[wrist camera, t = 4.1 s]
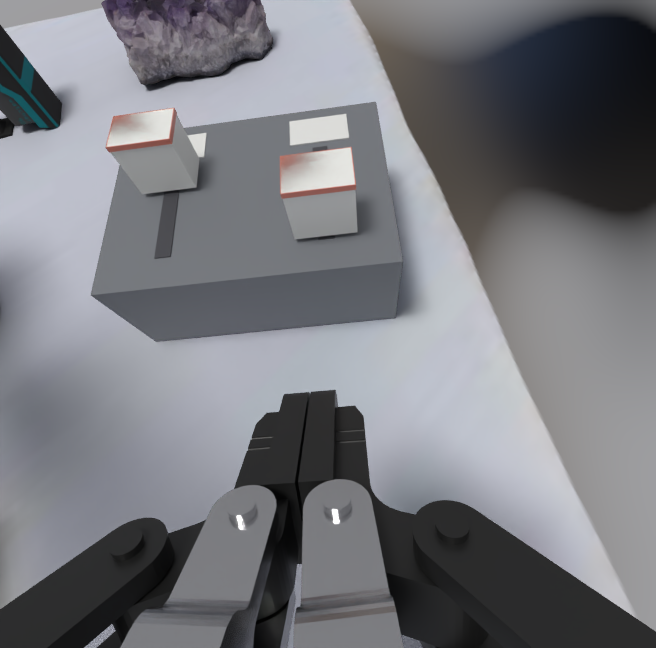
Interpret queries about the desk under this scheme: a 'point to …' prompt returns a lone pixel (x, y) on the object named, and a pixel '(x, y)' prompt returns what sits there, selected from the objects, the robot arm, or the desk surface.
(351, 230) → the switch
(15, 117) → the surveillance camera
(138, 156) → the switch
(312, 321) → the power box
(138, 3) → the geode
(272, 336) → the desk surface
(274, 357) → the desk surface
